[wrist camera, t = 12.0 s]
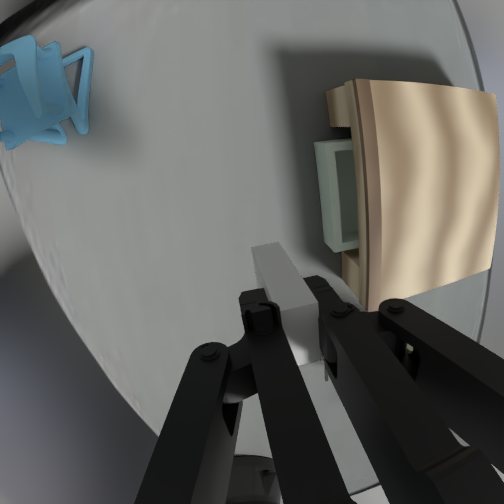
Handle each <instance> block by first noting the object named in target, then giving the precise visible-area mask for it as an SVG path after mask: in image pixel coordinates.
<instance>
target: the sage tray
mask: <svg viewBox="0 0 504 504" xmlns="http://www.w3.org/2000/svg"><path fill="white" fill-rule="evenodd" d="M314 149H315V157H316V165H317V173H318V182H319V191H320V201H321V212H322V223H323V234H324V242H325V243H326V244H327V245H328V246H329V247H330V248H331V249H332V250H333V251H334V252H335V253H336V252H341V251H346V250H350V249H355V248H359V228H358V206H357V190H356V176H355V164H354V154H353V144H352V138H348V139H337V140H327V141H318V142H314Z"/></svg>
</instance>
